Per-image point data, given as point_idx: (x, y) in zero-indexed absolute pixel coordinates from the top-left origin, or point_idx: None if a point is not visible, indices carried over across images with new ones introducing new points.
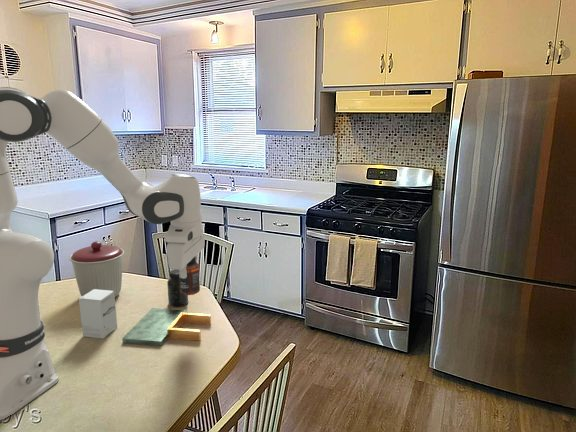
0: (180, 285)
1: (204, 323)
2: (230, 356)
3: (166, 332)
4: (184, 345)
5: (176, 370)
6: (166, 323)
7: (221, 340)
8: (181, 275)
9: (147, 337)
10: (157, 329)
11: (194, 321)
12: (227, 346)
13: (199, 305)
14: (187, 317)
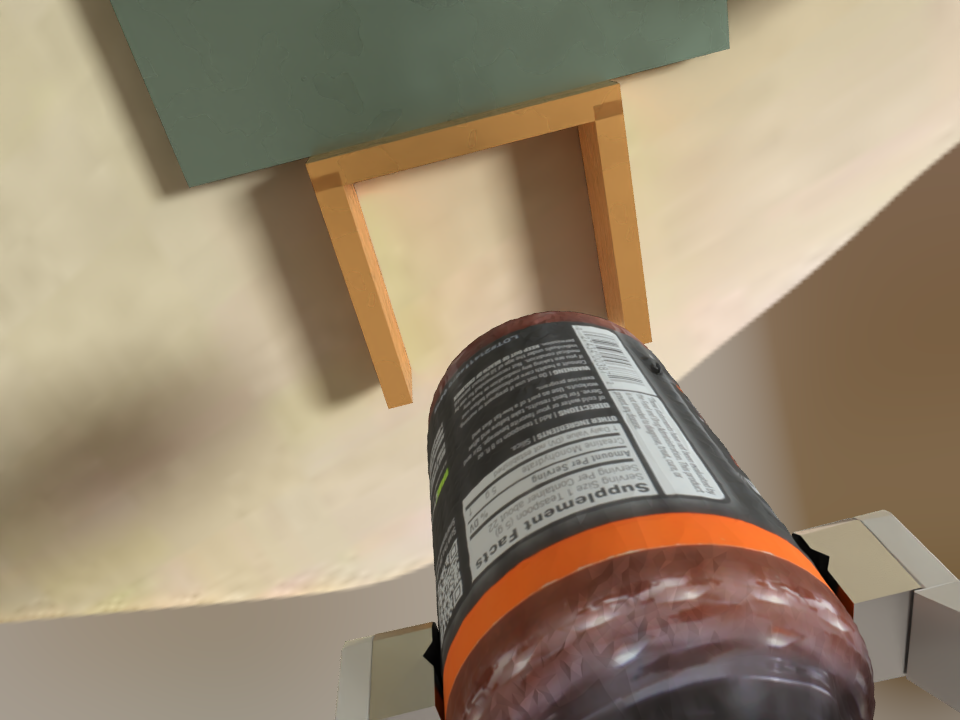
0: (452, 424)
1: (603, 282)
2: (326, 591)
3: (322, 135)
4: (294, 320)
5: (48, 437)
6: (451, 28)
7: None
8: (342, 691)
9: (173, 28)
10: (326, 20)
11: (594, 210)
12: (406, 535)
13: (897, 55)
14: (593, 158)
